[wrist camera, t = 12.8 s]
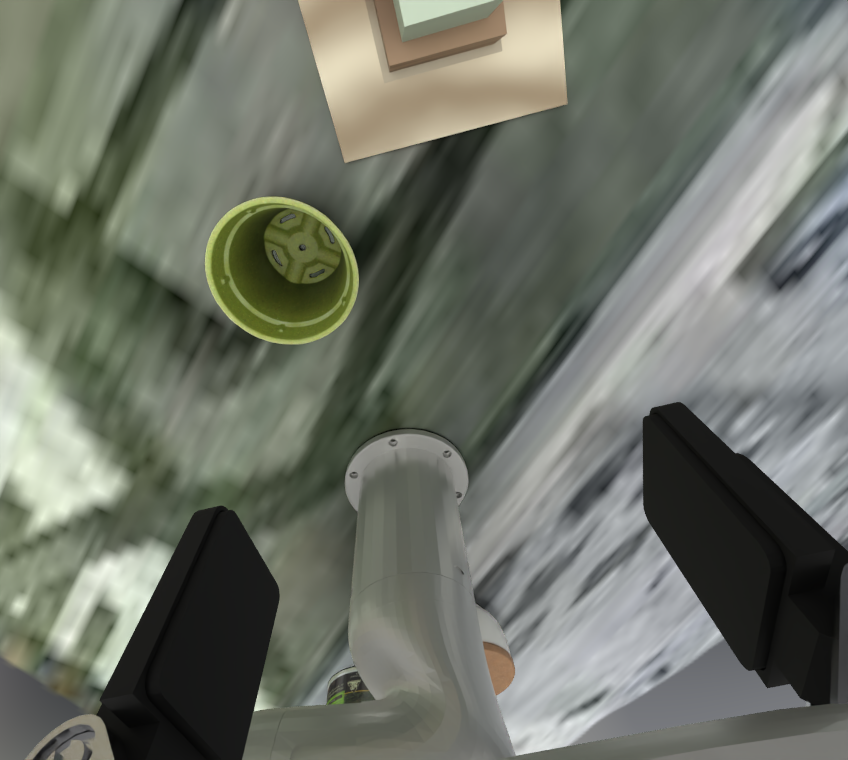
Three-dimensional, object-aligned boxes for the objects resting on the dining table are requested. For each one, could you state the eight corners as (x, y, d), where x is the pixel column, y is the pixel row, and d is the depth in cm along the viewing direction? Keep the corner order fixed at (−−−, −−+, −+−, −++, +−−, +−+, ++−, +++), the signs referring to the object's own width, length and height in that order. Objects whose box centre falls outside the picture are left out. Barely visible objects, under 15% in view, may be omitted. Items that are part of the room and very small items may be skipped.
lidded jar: (412, 640, 62) (416, 719, 54) (425, 586, 57) (430, 663, 49) (491, 643, 64) (506, 720, 55) (510, 590, 59) (529, 666, 50)
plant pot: (327, 158, 34) (309, 168, 27) (384, 274, 39) (383, 310, 31) (218, 214, 36) (172, 239, 28) (285, 319, 40) (260, 365, 32)
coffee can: (314, 695, 67) (296, 824, 55) (351, 656, 63) (341, 786, 51) (376, 713, 70) (373, 839, 58) (414, 677, 66) (420, 804, 54)
